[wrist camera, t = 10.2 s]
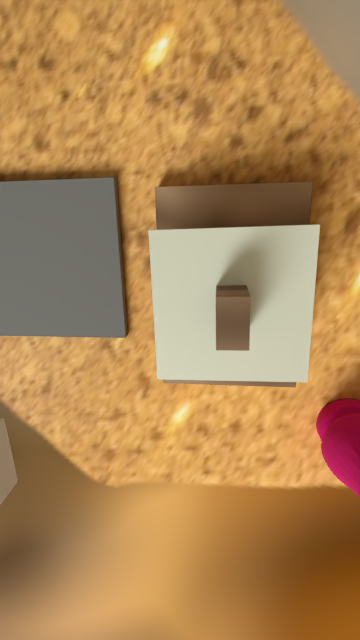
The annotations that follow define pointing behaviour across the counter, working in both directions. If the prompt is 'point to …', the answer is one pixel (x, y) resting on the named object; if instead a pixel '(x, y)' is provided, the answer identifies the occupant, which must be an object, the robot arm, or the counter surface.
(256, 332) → the lid
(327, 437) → the pepper mill
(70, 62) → the counter surface
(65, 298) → the mat
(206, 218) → the board
